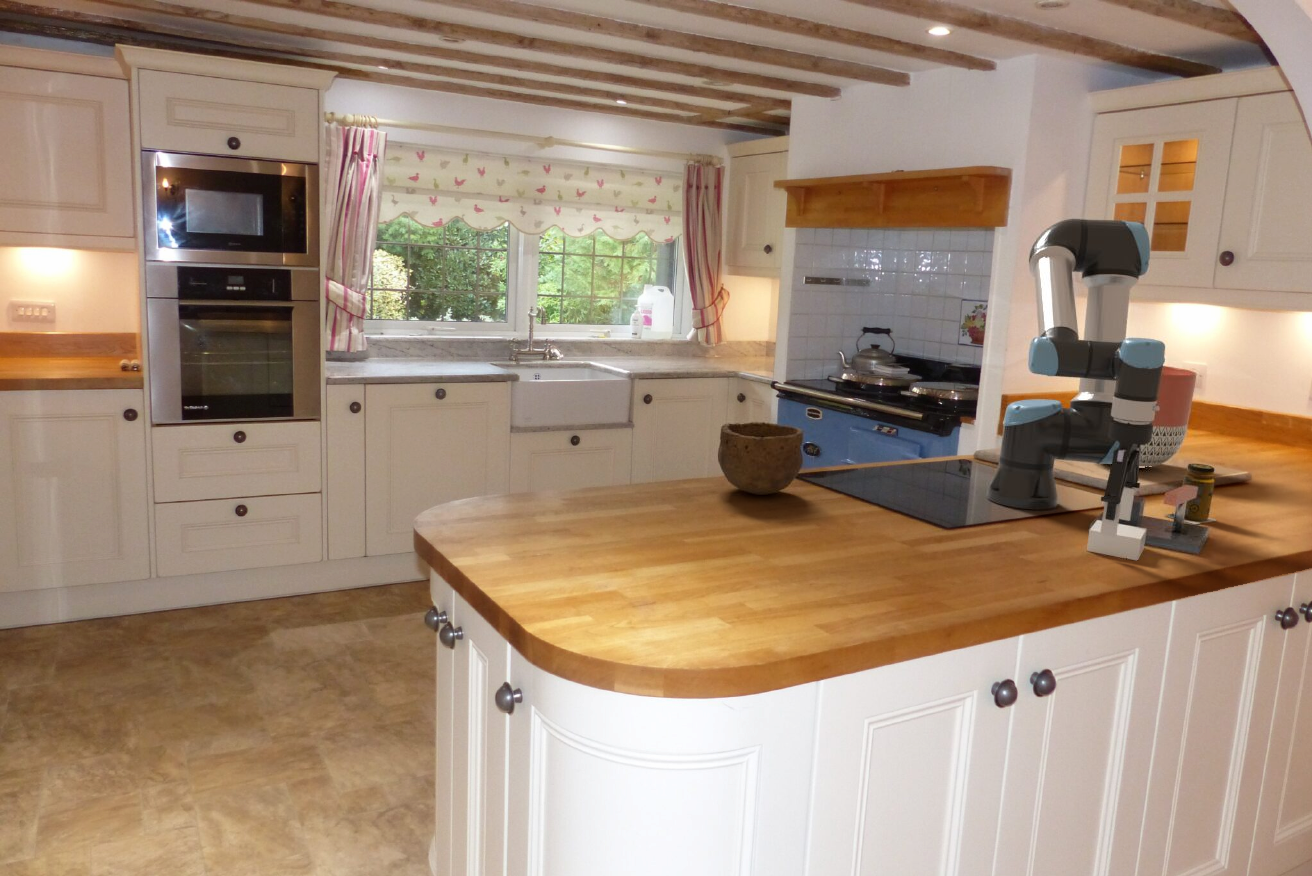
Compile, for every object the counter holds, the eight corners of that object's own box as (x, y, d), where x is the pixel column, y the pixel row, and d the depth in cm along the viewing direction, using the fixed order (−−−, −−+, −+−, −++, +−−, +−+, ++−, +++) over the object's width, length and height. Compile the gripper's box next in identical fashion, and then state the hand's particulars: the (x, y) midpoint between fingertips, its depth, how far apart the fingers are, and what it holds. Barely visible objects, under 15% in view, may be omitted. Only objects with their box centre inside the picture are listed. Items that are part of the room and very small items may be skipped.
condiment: (1216, 520, 222) (1225, 467, 219) (1195, 525, 217) (1204, 471, 215) (1184, 512, 228) (1192, 460, 225) (1163, 516, 223) (1171, 463, 221)
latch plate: (1088, 533, 206) (1093, 500, 205) (1104, 517, 219) (1109, 486, 218) (1197, 554, 195) (1203, 519, 194) (1207, 536, 208) (1213, 504, 207)
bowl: (703, 496, 220) (707, 429, 217) (730, 478, 237) (734, 416, 234) (787, 508, 213) (792, 439, 210) (808, 490, 230) (813, 426, 227)
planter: (1064, 465, 272) (1077, 366, 267) (1086, 450, 294) (1099, 358, 288) (1172, 482, 257) (1189, 378, 252) (1187, 466, 279) (1203, 369, 273)
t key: (1170, 537, 198) (1177, 495, 197) (1158, 534, 200) (1165, 492, 198) (1191, 527, 207) (1197, 486, 205) (1179, 524, 208) (1186, 484, 206)
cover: (1086, 550, 194) (1089, 529, 193) (1094, 540, 201) (1097, 520, 201) (1137, 560, 189) (1140, 539, 188) (1143, 549, 197) (1146, 528, 196)
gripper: (1141, 433, 179) (1123, 547, 184) (1164, 414, 199) (1147, 516, 204) (1096, 427, 183) (1080, 538, 188) (1123, 408, 203) (1108, 508, 208)
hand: (1115, 527), depth 196 cm, fingers open, 13 cm apart
